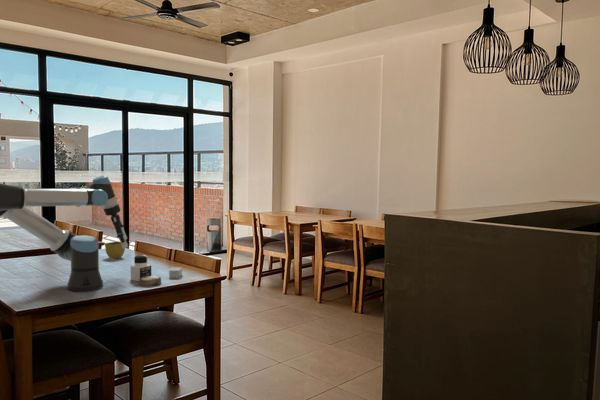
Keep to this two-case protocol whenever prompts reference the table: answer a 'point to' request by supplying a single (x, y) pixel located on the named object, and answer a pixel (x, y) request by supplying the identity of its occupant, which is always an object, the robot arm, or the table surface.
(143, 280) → the pedestal
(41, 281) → the table surface
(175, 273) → the grey junction box
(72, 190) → the robot arm
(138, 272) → the medicine bottle
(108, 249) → the flower pot
